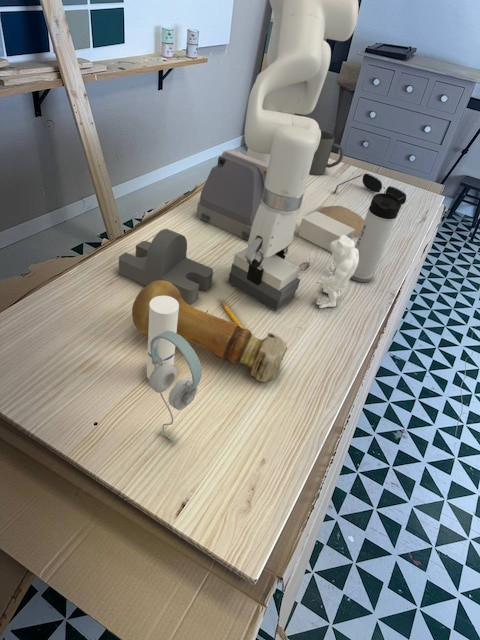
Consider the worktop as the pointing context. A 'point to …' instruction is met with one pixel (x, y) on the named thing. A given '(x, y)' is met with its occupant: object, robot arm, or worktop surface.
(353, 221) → the clay tablet
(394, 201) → the travel mug
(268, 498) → the worktop surface
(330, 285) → the figurine
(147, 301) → the stamp
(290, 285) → the grey stack
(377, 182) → the sunglasses
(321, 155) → the mug
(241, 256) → the white box
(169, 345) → the tube
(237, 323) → the pencil
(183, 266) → the bracket
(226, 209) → the instant camera
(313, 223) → the off-white rectangular block
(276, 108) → the robot arm
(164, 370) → the headphones
